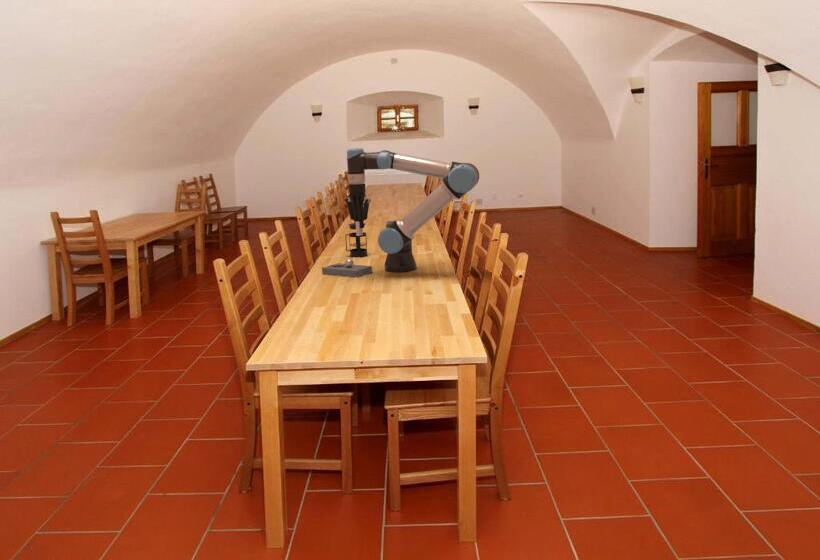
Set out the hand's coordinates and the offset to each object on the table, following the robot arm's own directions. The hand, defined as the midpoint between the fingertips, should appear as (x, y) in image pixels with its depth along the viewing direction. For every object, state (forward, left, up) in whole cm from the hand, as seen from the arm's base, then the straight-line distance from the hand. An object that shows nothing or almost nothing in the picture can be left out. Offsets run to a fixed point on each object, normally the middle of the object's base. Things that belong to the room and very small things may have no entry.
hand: (359, 235), depth 333 cm
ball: (+7, 0, -13) cm, 15 cm away
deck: (+8, 0, -18) cm, 20 cm away
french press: (+30, -38, -19) cm, 52 cm away
